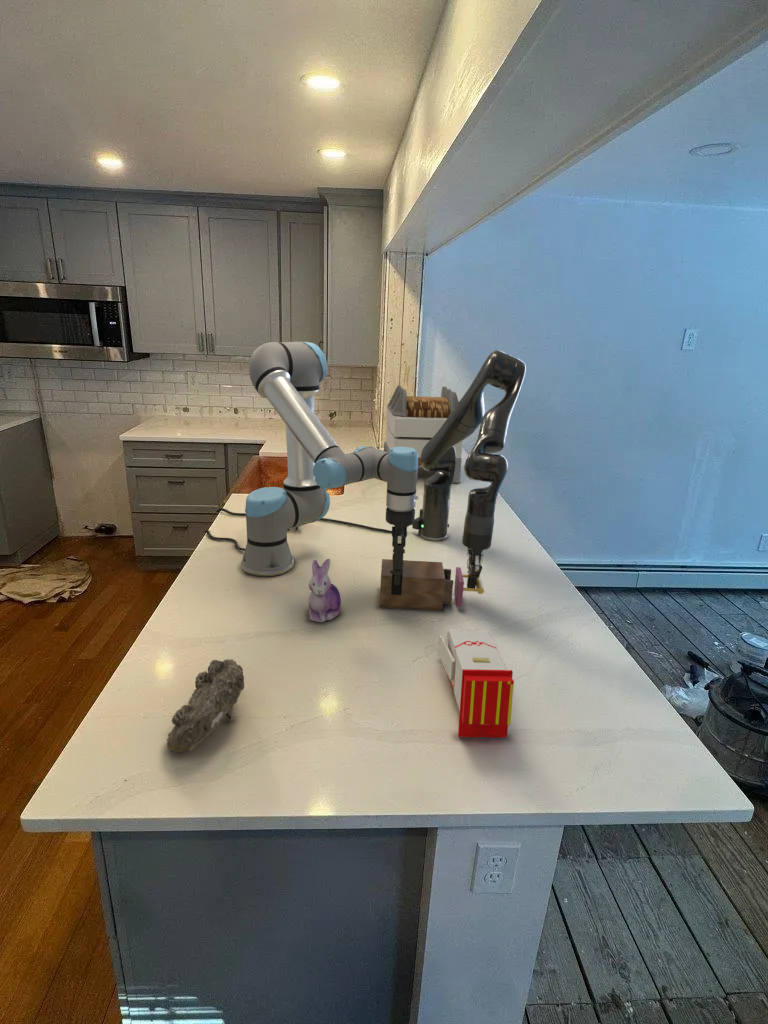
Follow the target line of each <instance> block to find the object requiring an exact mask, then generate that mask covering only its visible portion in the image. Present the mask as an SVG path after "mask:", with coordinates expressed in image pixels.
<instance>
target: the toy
mask: <svg viewBox="0 0 768 1024" xmlns="http://www.w3.org/2000/svg"><path fill="white" fill-rule="evenodd" d="M446 640H447V643H446V641H445V639H444V636H443V635H442V634H439V637H438V646H437V656H438V657H439V659H440V661H441V663H442V666H443V668H444V670H445V672H446V674H447V677H448V679H449V681H450V684H451V687H452V690H453V693H454V697H455V701H456V705H457V708H458V711H459V714H458V715H459V716H458V730H457V731H458V732H457V737H458V738H508V731H509V726H510V725H511V717H512V707H513V697H514V696H513V695H514V684H515V680H514V679H513V673H514V671H513V670H512V669H508V667H507V665H506V662H505V661H504V659H503V658H502V655H501V653H500V651H499V649H498V647H497V643H496V639H495V637H494V635H493V634H491V632H490V631H489V629H467V628H466V629H465V628H463V629H461V628H460V629H459V628H448V630H447V639H446Z"/></svg>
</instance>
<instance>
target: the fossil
mask: <svg viewBox="0 0 768 1024" xmlns="http://www.w3.org/2000/svg"><path fill="white" fill-rule="evenodd" d="M243 670H244V669H243V667H242V665H240V664H237V662H236V661H235V660H234V659H232V658H231V659H227V658H226V659H224V660H223V661H222V660H217V659H212V660H211V661H210V663H209V665H208V666H207V671H201V672H199V673H198V674H197V675H196V676H195V680H194V684H195V685H194V687H195V689H194V690H193V693H192V694H191V697H190V698H189V700H188V704H184V705H182V706H181V707H180V709H177V710H176V711H175V713H174V715H173V716H172V718H171V723H172V724H173V727H172V730H171V731H170V732H168V734H167V738H166V741H167V742H166V745H167V749H168V750H169V751H173V752H174V753H176V754H178V753H182V752H188V751H189V752H192V751H193V750H195V748H196V747H197V746H199V744H200V743H201V742H203V741H204V740H205V739H206V738H207V737H208V736H209V735H210V734H211V733H212V732H214V730H215V729H217V727H218V726H219V724H220V722H221V721H222V720H223V719H224V718H225V716H226V717H227V719H229V720H233V717H232V715H230V714H229V710H230V709H231V708H234V706H235V704H236V703H237V702H238V699H239V697H240V695H241V693H242V691H243V690H245V689H244V688H245V675H244V671H243Z"/></svg>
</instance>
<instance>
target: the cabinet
mask: <svg viewBox="0 0 768 1024" xmlns="http://www.w3.org/2000/svg"><path fill="white" fill-rule="evenodd" d="M444 569H445V568H444V564H443V562H442V561H428V560H426V561H425V560H410V559H409V560H405V559H403V576H402V593H401V595H391V586H392V573H390V570H391V571H392V570H393V559H390V558H389V559H388V558H382V559H381V571H380V587H379V588H380V589H379V591H380V592H379V608H380V609H395V610H397V609H398V610H399V609H400V610H414V611H415V610H416V611H436V612H443V607H444V604H443V596H444V585H445V576H444Z"/></svg>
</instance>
